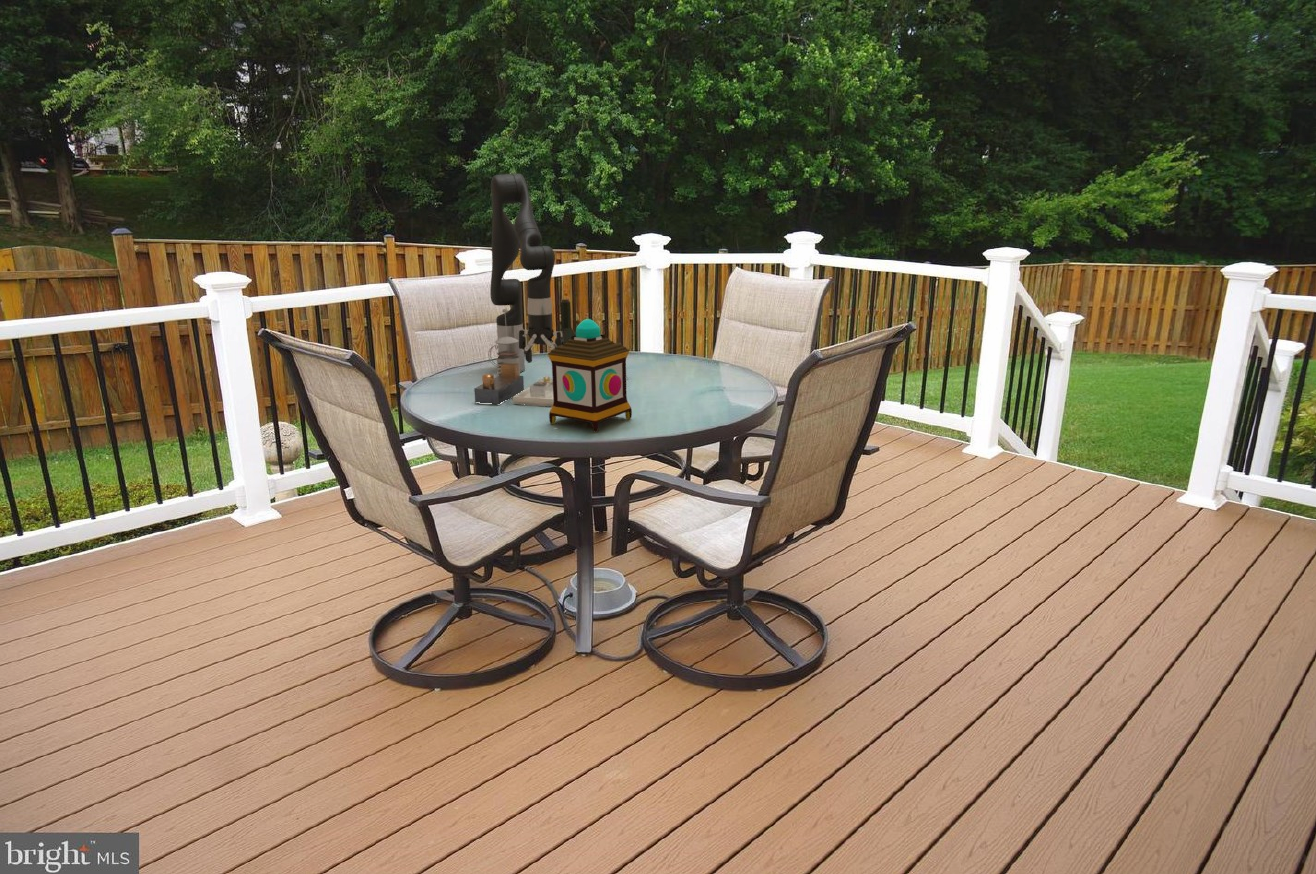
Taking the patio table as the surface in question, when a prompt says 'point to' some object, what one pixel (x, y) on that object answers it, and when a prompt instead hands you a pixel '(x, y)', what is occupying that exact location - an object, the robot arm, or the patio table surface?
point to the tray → (531, 399)
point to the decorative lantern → (589, 377)
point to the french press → (507, 353)
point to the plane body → (500, 385)
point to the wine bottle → (566, 321)
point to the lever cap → (542, 388)
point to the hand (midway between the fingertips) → (542, 362)
